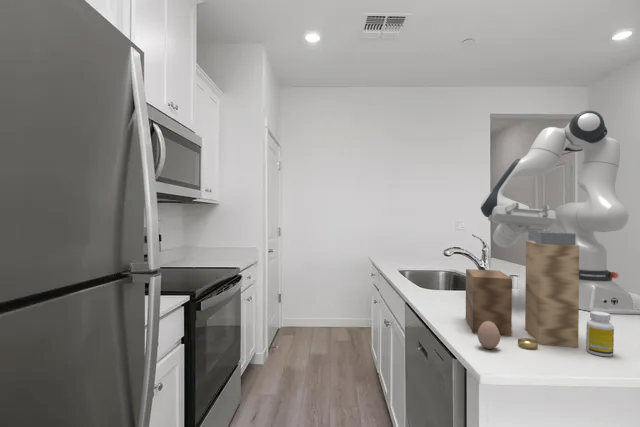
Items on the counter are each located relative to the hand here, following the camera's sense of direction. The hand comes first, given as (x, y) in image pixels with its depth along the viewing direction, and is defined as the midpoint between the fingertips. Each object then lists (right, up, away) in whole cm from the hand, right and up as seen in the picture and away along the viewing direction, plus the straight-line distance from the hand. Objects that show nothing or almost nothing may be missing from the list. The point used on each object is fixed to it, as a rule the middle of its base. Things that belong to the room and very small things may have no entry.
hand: (531, 205), depth 127 cm
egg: (-28, -37, -31) cm, 56 cm away
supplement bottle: (-2, -37, -33) cm, 50 cm away
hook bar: (-6, -11, -18) cm, 21 cm away
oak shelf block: (-7, -37, -22) cm, 44 cm away
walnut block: (-20, -37, -12) cm, 44 cm away
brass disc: (-18, -37, -30) cm, 50 cm away
